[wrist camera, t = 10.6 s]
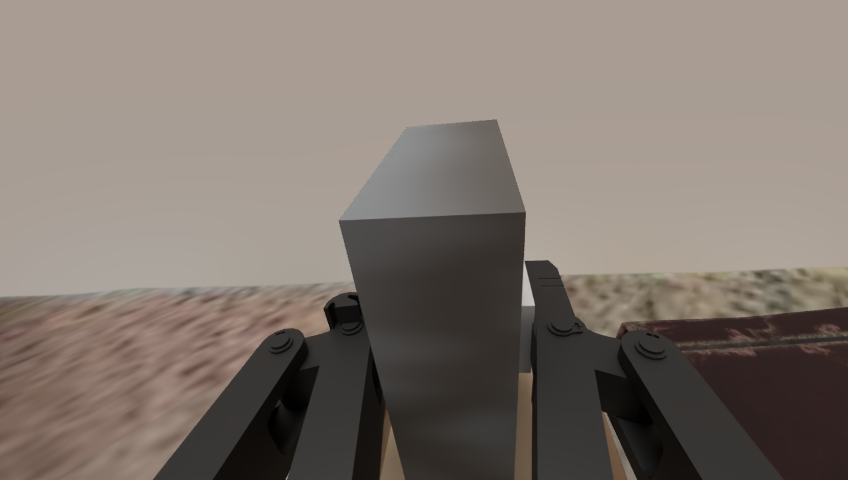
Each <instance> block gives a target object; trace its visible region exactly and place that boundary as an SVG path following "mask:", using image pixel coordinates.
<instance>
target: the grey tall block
mask: <svg viewBox="0 0 848 480" xmlns="http://www.w3.org/2000/svg"><path fill="white" fill-rule="evenodd" d="M525 219H526V211H525V208H524V205H523V202H522V199H521V195H520V192H519V189H518V186H517V183H516V179H515V176H514V173H513V170H512V167H511V164H510V161H509V157H508V154H507V151H506V148H505V145H504V141H503V138H502V135H501V132H500V129H499V126H498V122H497V120H485V121H474V122H462V123H451V124H439V125H427V126H415V127H407V128H406V129H405V130H404V132H403V133H402V134H401V136H400V137H399V138H398V140H397V141H396V143H395V144H394V145H393V147H392V148H391V149H390V151H389V152H388V154H387V155H386V156H385V158H384V159H383V160H382V162H381V163H380V164H379V166H378V167H377V169H376V170H375V171H374V173H373V174H372V175H371V177H370V178H369V180H368V181H367V182H366V184H365V185H364V186H363V188H362V189H361V191H360V192H359V193H358V195H357V196H356V198H355V199H354V200H353V202H352V203H351V204H350V206H349V207H348V208H347V210H346V211H345V212H344V214H343V215H342V217H341V218H340V219H339V224H340V228H341V231H342V235H343V239H344V243H345V247H346V251H347V255H348V259H349V263H350V267H351V271H352V274H353V278H354V282H355V286H356V290H357V294H358V298H359V302H360V306H361V310H362V313H363V317H364V321H365V325H366V329H367V333H368V337H369V341H370V345H371V349H372V352H373V356H374V360H375V364H376V368H377V372H378V376H379V380H380V384H381V387H382V391H383V395H384V399H385V403H386V407H387V411H388V415H389V419H390V423H391V429H390V434H389V439H388V444H387V449H386V453H385V458H384V463H383V468H382V473H381V478H380V480H532V402H531V396H532V382H533V374H532V368H531V373H519V358H520V335H521V312H522V289H523V266H524V243H525Z"/></svg>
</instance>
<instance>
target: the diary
mask: <svg viewBox="0 0 848 480" xmlns="http://www.w3.org/2000/svg"><path fill="white" fill-rule="evenodd" d="M637 329H638V330H649V331H652V332H655V333H659V334H661V335H663V336H665V337H666V338H668V339H670V340H671V341H672V342H673V343H674V344H675V345H677V346H678V347H679V349H680V350H681V351H682V352H683V354H684V355H685V356H686V357H687V359H688V360H689V361H690V362H691V364H692V365H693V366H694V367H695V369H696V370H697V371H698V372H699V374H700V375H701V376H702V378H703V379H704V380H705V381H706V383H707V384H708V385H709V386H710V388H711V389H712V390H713V391H714V393H715V394H716V395H717V396H718V398H719V399H720V400H721V401H722V403H723V404H724V405H725V406H726V408H727V409H728V410H729V411H730V413H731V414H732V415H733V416H734V418H735V419H736V420H737V421H738V423H739V424H740V425H741V426H742V428H743V429H744V430H745V432H746V433H747V434H748V435H749V437H750V438H751V439H752V440H753V442H754V443H755V444H756V445H757V447H758V448H759V449H760V450H761V452H762V453H763V454H764V455H765V457H766V458H767V459H768V460H769V462H770V463H771V464H772V465H773V467H774V468H775V469H776V470H777V472H778V473H779V474H780V475H781V477H782V478H783V479H784V480H848V307H845V308H835V309H824V310H814V311H804V312H794V313H784V314H773V315H763V316H753V317H739V318H712V319H685V320H658V321H637V322H625V323H622V324H621V326H620V329H619V331H618V334H617V336H616V339H620V340H621V339H622V336H623V335H624V334H625V333H627V332H628V331H632V330H637Z"/></svg>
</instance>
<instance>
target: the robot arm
mask: <svg viewBox="0 0 848 480" xmlns="http://www.w3.org/2000/svg"><path fill="white" fill-rule="evenodd" d="M323 309H324V312H325V315H326V318H327V321H328V324H329V327H330V331H328V332H326V333H323V334H319V335H315V336H311V337H307V338H304V335H303V333H302V332H301V331H300V330H297V329H293V328H290V329H283V330H280V331H277V332H275V333H273V334H272V335H270V336H268V337H267V338H266V339H265V340H264V341H263V342H262V343H261V344H260V346H259V347H258V348H257V349H256V351H255V352H254V353H253V354H252V356H251V357H250V358H249V360H248V361H247V362H246V363H245V365H244V366H243V367H242V368H241V370H240V371H239V372H238V373H237V375H236V376H235V377H234V378H233V380H232V381H231V382H230V383H229V385H228V386H227V387H226V388H225V390H224V391H223V392H222V393H221V395H220V396H219V397H218V398H217V400H216V401H215V402H214V404H213V405H212V406H211V407H210V409H209V410H208V411H207V412H206V414H205V415H204V416H203V417H202V419H201V420H200V421H199V422H198V424H197V425H196V426H195V427H194V429H193V430H192V431H191V432H190V434H189V435H188V436H187V437H186V439H185V440H184V441H183V442H182V444H181V445H180V446H179V448H178V449H177V450H176V451H175V453H174V454H173V455H172V456H171V458H170V459H169V460H168V461H167V463H166V464H165V465H164V466H163V468H162V469H161V470H160V471H159V473H158V474H157V475H156V476H155V478H154V479H153V480H285V479H286V477H287V475H288V473H289V476H288V479H287V480H380V467H381V453H382V439H383V425H384V411H385V399H384V395H383V391H382V387H381V384H380V380H379V376H378V372H377V368H376V364H375V360H374V356H373V352H372V349H371V345H370V341H369V337H368V333H367V329H366V325H365V321H364V317H363V313H362V310H361V306H360V302H359V298H358V294H357V292H348V293H343V294H340V295H338V296H336V297H334V298H332V299H331V300H330V301H328V302H327V303H326V305H325V307H324V308H323ZM531 366H532V371H533V382H532V396H531V402H532V480H614V478H613V472H612V467H611V461H610V455H609V450H608V444H607V438H606V433H605V427H604V421H603V416H602V411H603V412H606V413H607V415H608V417H609V419H610V421H611V424H612V426H613V428H614V430H615V432H616V434H617V437H618V439H619V441H620V443H621V445H622V448H623V450H624V452H625V454H626V456H627V458H628V461H629V463H630V465H631V467H632V469H633V471H634V474H635V476H636V478H637V480H784V479H783V478H782V477H781V475H780V474H779V473H778V472H777V470H776V469H775V468H774V467H773V465H772V464H771V463H770V462H769V460H768V459H767V458H766V457H765V455H764V454H763V453H762V452H761V450H760V449H759V448H758V447H757V445H756V444H755V443H754V442H753V440H752V439H751V438H750V437H749V435H748V434H747V433H746V432H745V430H744V429H743V428H742V426H741V425H740V424H739V423H738V421H737V420H736V419H735V418H734V416H733V415H732V414H731V413H730V411H729V410H728V409H727V408H726V406H725V405H724V404H723V403H722V401H721V400H720V399H719V398H718V396H717V395H716V394H715V393H714V391H713V390H712V389H711V388H710V386H709V385H708V384H707V383H706V381H705V380H704V379H703V378H702V376H701V375H700V374H699V372H698V371H697V370H696V369H695V367H694V366H693V365H692V364H691V362H690V361H689V360H688V359H687V357H686V356H685V355H684V354H683V352H682V351H681V350H680V349H679V347H678V346H677V345H675V344H674V343H673V342H672V341H671V340H670V339H668V338H666V337H665V336H663V335H661V334H659V333H655V332H652V331H649V330H638V329H637V330H632V331H628V332H627V333H625V334H624V335H623V336H622V339H621V340H620V339H616V338H612V337H608V336H603V335H600V334H597V333H594V332H592V331H590V330H588V329H587V328H586V326H585V324H584V323H583V322H582V321H581V320H580V319H579V318H577V317H575V315H574V312H573V309H572V307H571V304H570V301H569V299H568V296H567V293H566V291H565V288H564V285H563V283H562V280H561V277H560V275H559V272H558V270H557V268H556V267H555V266H554V265H553V264H552V263H550V262H549V261H548V260H545V261H524V266H523V289H522V312H521V335H520V358H519V373H531ZM289 471H290V472H289Z"/></svg>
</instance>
